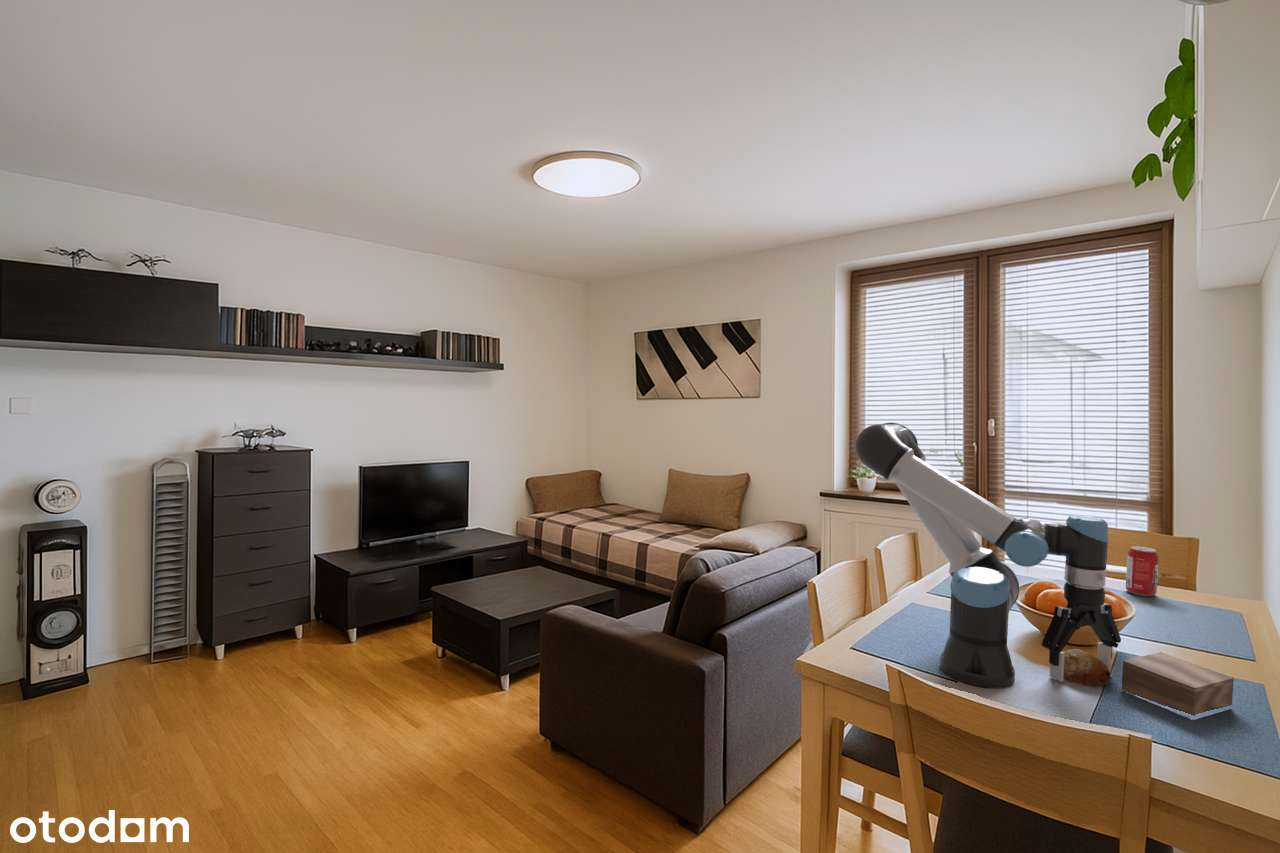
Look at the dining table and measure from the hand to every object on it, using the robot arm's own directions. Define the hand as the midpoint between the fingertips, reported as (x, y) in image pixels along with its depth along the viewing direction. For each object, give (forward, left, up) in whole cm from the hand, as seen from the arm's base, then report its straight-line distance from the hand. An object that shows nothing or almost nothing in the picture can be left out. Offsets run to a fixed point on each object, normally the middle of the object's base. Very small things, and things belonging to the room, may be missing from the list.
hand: (1080, 675), depth 139 cm
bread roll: (0, 0, -1) cm, 1 cm away
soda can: (+76, +42, 0) cm, 87 cm away
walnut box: (+10, -13, 0) cm, 16 cm away
